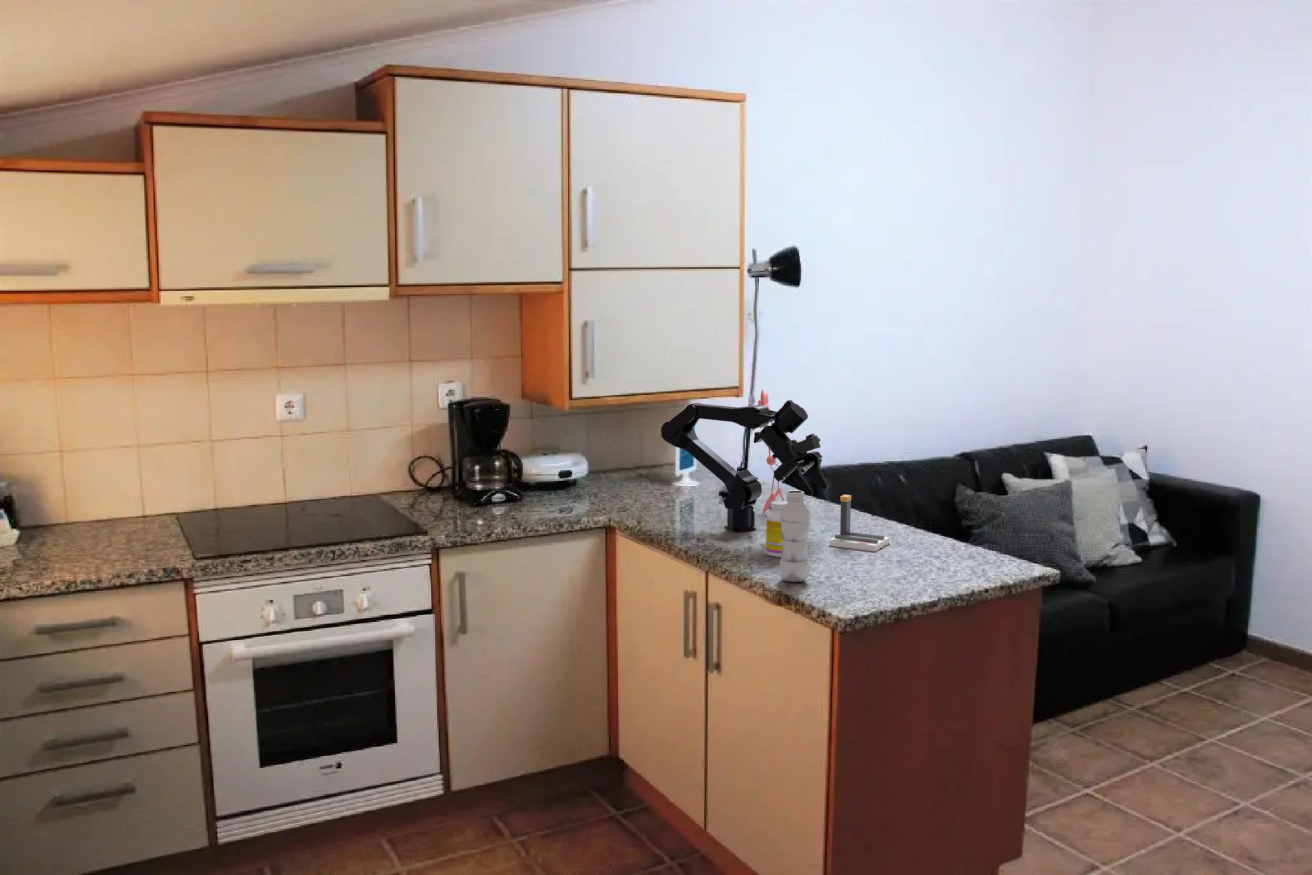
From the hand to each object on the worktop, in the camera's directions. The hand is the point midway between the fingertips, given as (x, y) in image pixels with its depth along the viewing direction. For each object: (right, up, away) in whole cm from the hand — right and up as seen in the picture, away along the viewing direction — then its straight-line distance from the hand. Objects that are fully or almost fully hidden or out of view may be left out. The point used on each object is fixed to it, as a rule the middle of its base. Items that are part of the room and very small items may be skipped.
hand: (819, 491), depth 281 cm
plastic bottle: (-11, -18, -38) cm, 43 cm away
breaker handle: (+6, -11, -2) cm, 13 cm away
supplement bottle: (-12, -15, -14) cm, 23 cm away
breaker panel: (+9, -13, -4) cm, 17 cm away
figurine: (-11, -7, +38) cm, 40 cm away
